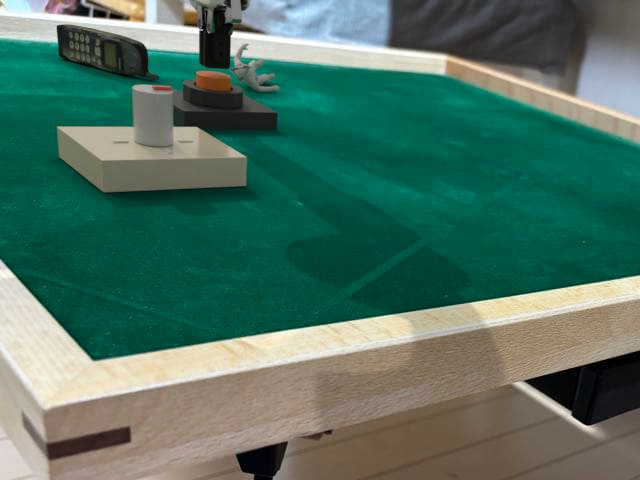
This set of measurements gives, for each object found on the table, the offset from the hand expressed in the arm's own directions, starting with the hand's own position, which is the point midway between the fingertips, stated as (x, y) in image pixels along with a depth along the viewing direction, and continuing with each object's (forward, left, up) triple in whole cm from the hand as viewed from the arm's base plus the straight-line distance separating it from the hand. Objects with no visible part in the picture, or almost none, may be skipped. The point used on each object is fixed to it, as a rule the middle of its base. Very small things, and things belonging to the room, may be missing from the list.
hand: (214, 66), depth 107 cm
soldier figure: (+15, +18, -7) cm, 24 cm away
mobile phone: (-3, +25, -7) cm, 26 cm away
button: (0, 0, -3) cm, 3 cm away
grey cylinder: (-16, -20, -3) cm, 26 cm away
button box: (0, 0, -6) cm, 6 cm away
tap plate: (-16, -20, -6) cm, 27 cm away
